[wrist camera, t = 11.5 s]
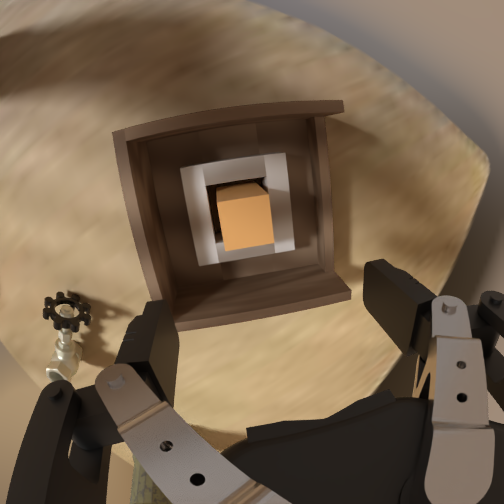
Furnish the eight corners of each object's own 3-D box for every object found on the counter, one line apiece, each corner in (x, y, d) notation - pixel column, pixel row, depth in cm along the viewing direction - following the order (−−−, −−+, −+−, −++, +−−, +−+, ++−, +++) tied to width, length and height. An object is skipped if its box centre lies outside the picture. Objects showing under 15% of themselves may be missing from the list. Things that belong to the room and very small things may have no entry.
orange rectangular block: (216, 187, 29) (216, 202, 21) (254, 181, 29) (268, 194, 22) (222, 224, 30) (225, 251, 23) (259, 218, 31) (274, 243, 23)
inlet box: (138, 135, 26) (112, 132, 18) (311, 110, 27) (342, 100, 20) (172, 292, 32) (163, 333, 25) (323, 266, 34) (351, 299, 26)
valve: (91, 365, 35) (99, 303, 32) (78, 396, 29) (81, 334, 26) (54, 349, 33) (56, 285, 30) (37, 377, 27) (32, 311, 24)
